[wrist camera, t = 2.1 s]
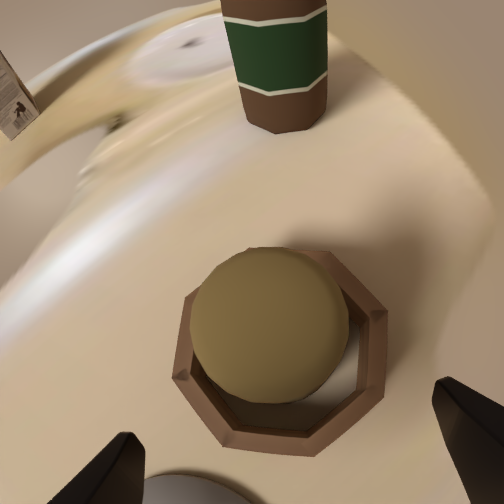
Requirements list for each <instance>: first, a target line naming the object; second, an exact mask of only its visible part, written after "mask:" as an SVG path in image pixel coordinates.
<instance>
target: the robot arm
mask: <svg viewBox="0 0 504 504" xmlns="http://www.w3.org/2000/svg"><path fill="white" fill-rule="evenodd" d="M432 405H433V408H434V411H435V414H436V417H437V420H438V423H439V426H440V429H441V432H442V435H443V438H444V441H445V444H446V447H447V449H448V451H449V453H450V456H451V458H452V460H453V462H454V465H455V467H456V469H457V471H458V474H459V476H460V478H461V481H462V483H463V485H464V488H465V490H466V493H467V495H468V497H469V500H470V502H471V504H504V407H503V406H502V405H500V404H498V403H496V402H494V401H492V400H491V399H489V398H487V397H485V396H484V395H482V394H480V393H478V392H477V391H475V390H473V389H471V388H469V387H468V386H466V385H464V384H462V383H460V382H459V381H457V380H455V379H453V378H452V377H449V376H447V377H444V378H441V379H439V380H437V381H436V383H435V387H434V391H433V395H432ZM144 474H145V449H144V446H143V445H142V444H141V442H140V441H139V439H138V438H137V437H136V435H135V434H134V433H133V432H120V433H118V434H117V435H116V436H115V437H114V438H113V439H112V440H111V441H110V442H109V443H108V444H107V445H106V446H105V447H104V448H103V449H102V450H101V451H100V452H99V453H98V454H97V455H96V456H95V457H94V458H93V459H92V460H91V461H90V462H89V463H88V464H87V465H86V466H85V467H84V468H83V469H82V470H81V471H80V472H79V473H78V474H77V475H76V476H75V477H74V478H73V479H72V480H71V481H70V482H69V483H68V484H67V485H66V486H65V487H64V488H63V489H62V490H61V491H60V492H59V493H57V494H56V495H55V496H54V497H53V498H52V500H50V501H49V502H48V503H47V504H142V502H143V495H144Z"/></svg>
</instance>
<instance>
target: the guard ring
mask: <svg viewBox="0 0 504 504" xmlns="http://www.w3.org/2000/svg"><path fill="white" fill-rule="evenodd" d="M251 249H255V248H250V247H249V248H248V249H247V250H245V251H248V250H251ZM245 251H244V252H245ZM293 251H297V252H300V253H303V254H306V255H307V256H309V257H310V258H312V259H313V260H315V261H316V262H318V263H319V264H320V265H322V266H323V267H325V269H326V270H327V271H328V273H329V274H330V275H331V276H332V278H333V279H334V280H335V281H336V283H337V284H338V285H339V287H340V289H341V292H342V295H343V298H344V301H345V303H346V306H347V309H348V315H349V317H350V318H351V319H352V320H353V321H354V323H355V324H356V325H357V326H358V327H359V328H360V340H359V359H358V374H357V386H356V390H355V391H354V392H353V393H352V394H351V395H350V396H349V397H347V398H346V399H345V400H344V401H343V402H342V403H341V404H339V405H338V406H337V407H336V408H335V409H334V410H332V411H331V412H330V413H329V414H328V415H326V416H325V417H324V418H323V419H321V420H320V421H319V422H318V423H317V424H315V425H314V426H313V427H311V428H310V429H309V430H308V431H298V430H285V429H274V428H265V427H256V426H248V425H243V424H242V423H241V422H240V421H239V419H238V418H237V417H236V416H235V414H234V413H233V412H232V411H231V409H230V408H229V407H228V406H227V404H226V403H225V402H224V400H223V399H222V398H221V397H220V395H219V394H218V393H217V391H216V390H215V389H214V387H213V386H212V385H211V383H210V382H209V381H208V379H207V378H206V372H205V370H204V368H203V367H202V365H201V363H200V362H199V360H198V358H197V356H196V355H195V352H194V348H193V343H192V339H191V334H190V329H189V328H190V319H191V311H192V304H193V302H194V300H195V298H196V295H197V293H198V291H199V289H200V287H201V286H199V287H198V288H197V289H195V290H194V291H193V292H192V293H190V294H189V295H188V296H186V297H185V301H184V306H183V312H182V318H181V324H180V329H179V335H178V341H177V348H176V354H175V360H174V367H173V373H172V379H173V381H174V382H175V384H176V385H177V386H178V388H179V389H180V391H181V392H182V394H183V395H184V396H185V398H186V399H187V401H188V402H189V403H190V405H191V406H192V407H193V409H194V410H195V412H196V413H197V414H198V416H199V417H200V418H201V420H202V421H203V422H204V423H205V425H206V426H207V427H208V429H209V430H210V431H211V433H212V434H213V435H214V436H215V438H216V439H217V440H218V441H219V443H220V444H221V445H222V447H227V448H233V449H240V450H247V451H254V452H262V453H271V454H281V455H293V456H307V457H315V456H316V455H317V454H318V453H320V452H321V451H322V450H324V449H325V448H326V447H327V446H329V445H330V444H331V443H332V442H334V441H335V440H336V439H337V438H339V437H340V436H341V435H342V434H343V433H345V432H346V431H347V430H348V429H349V428H351V427H352V426H353V425H354V424H355V423H356V422H358V421H359V420H360V419H361V418H362V417H363V416H364V415H365V414H367V413H368V412H369V411H370V410H371V409H372V408H373V407H374V406H375V405H376V404H377V403H378V402H380V401H381V400H382V399H383V398H384V391H385V377H386V359H387V323H388V310H386V308H385V307H384V306H383V305H382V304H381V303H380V302H379V301H378V300H377V299H376V298H375V297H374V296H373V295H372V294H371V293H370V292H369V291H368V290H367V289H366V288H365V286H364V285H363V284H362V283H361V282H360V281H359V280H358V279H357V278H356V277H355V276H354V275H353V274H352V273H351V272H350V271H349V270H348V269H347V268H346V267H345V266H344V265H343V264H342V263H341V262H340V261H339V260H338V259H337V258H336V257H335V256H334V255H333V254H332V253H331V252H327V251H307V250H293Z"/></svg>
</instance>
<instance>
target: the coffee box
mask: <svg viewBox="0 0 504 504" xmlns="http://www.w3.org/2000/svg"><path fill="white" fill-rule="evenodd" d="M39 115H40V111H39V109H38V107H37V105H36V103H35V100H34V98H33V96H32V95H31V94H30V92H29V91H28V89H27V88H26V87H25V85H24V84H23V83H22V81H21V80H20V78H19V77H18V76H17V74H16V73H15V71H14V70H13V68H12V67H11V66H10V64H9V63H8V61H7V60H6V58H5V57H4V55H3V54H2V52H1V51H0V129H1V130H2V132H3V133H4V134H5V135H6V136H7V137H8V138H9V139H10V141H11V140H13V139H14V138H15V137H16V136H17V135H18V134H19V133H20V132H21V131H22V130H23V129H24V128H25V127H26V126H27V125H29V124H30V123H31V122H32V121H33V120H34V119H35V118H36V117H38V116H39Z"/></svg>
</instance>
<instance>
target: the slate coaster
mask: <svg viewBox="0 0 504 504" xmlns="http://www.w3.org/2000/svg"><path fill="white" fill-rule="evenodd" d="M142 504H252V503H251V502H250V501H248V500H247V499H246V498H244V497H243V496H242V495H240V494H239V493H237V492H235V491H234V490H232V489H230V488H228V487H226V486H224V485H222V484H220V483H217V482H215V481H212V480H209V479H206V478H202V477H198V476H192V475H185V474H165V475H159V476H155V477H151V478H148V479H146V480H144V495H143V502H142Z"/></svg>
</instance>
